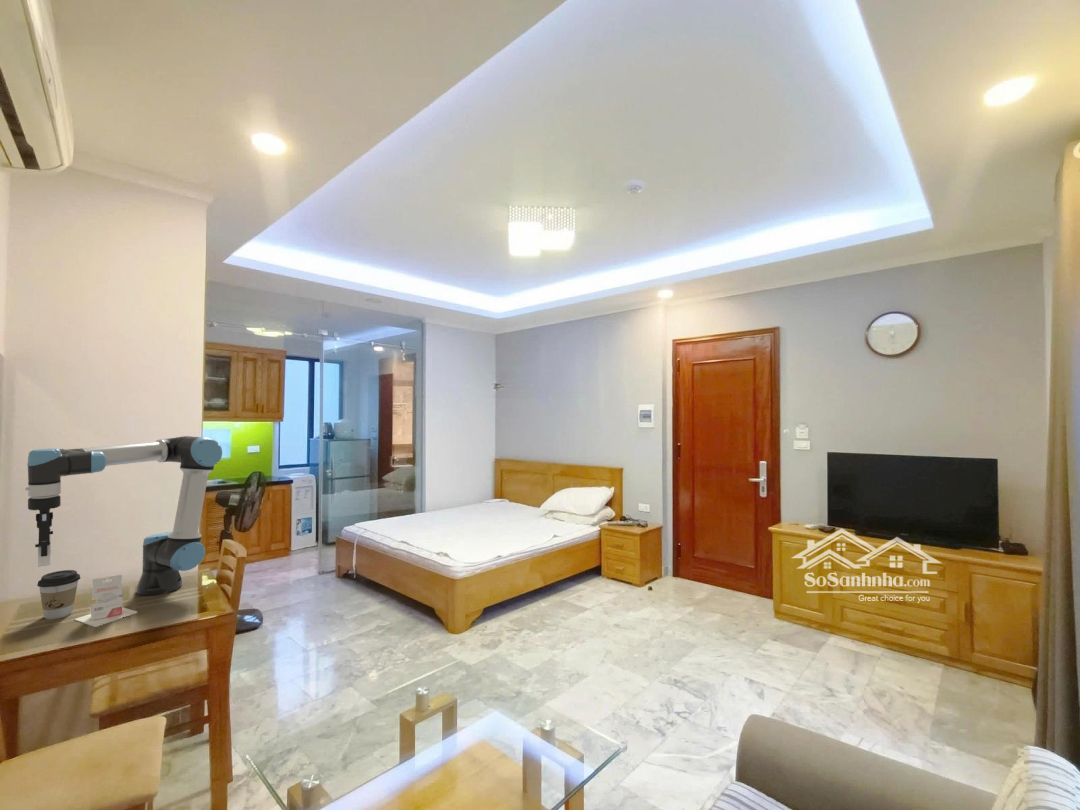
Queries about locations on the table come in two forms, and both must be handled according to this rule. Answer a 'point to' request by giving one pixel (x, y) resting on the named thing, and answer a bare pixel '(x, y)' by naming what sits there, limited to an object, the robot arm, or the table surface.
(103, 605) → the ink cartridge box
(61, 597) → the coffee cup
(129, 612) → the pad
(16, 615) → the table surface
